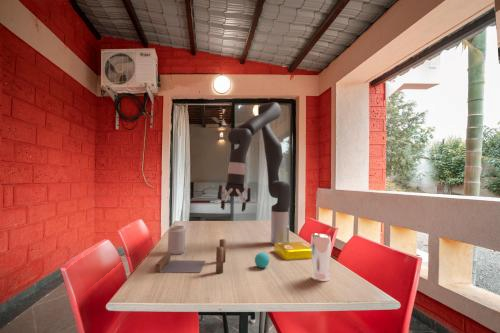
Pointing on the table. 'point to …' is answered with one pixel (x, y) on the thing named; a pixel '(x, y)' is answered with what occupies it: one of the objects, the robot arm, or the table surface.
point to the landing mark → (184, 266)
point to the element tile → (293, 250)
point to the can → (176, 240)
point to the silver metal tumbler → (320, 256)
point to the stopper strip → (162, 262)
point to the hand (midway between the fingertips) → (232, 210)
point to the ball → (261, 260)
